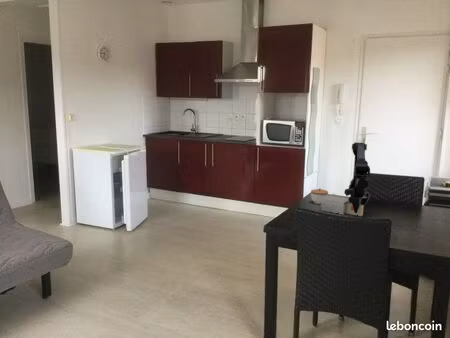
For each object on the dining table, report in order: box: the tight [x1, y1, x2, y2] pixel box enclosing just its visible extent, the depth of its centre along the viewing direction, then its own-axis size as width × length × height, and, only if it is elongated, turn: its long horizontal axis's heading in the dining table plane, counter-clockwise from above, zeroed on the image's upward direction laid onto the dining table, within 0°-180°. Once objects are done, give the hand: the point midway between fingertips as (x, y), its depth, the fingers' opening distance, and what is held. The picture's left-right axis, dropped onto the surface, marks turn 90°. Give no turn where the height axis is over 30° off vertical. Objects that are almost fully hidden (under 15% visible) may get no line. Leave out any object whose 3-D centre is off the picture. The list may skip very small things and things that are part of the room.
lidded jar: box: [310, 188, 329, 205], centre depth 263 cm, size 11×11×9 cm
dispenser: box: [320, 194, 350, 216], centre depth 245 cm, size 11×15×8 cm
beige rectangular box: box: [345, 203, 365, 217], centre depth 242 cm, size 3×19×6 cm, turn 51°
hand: (358, 211), depth 237 cm, fingers open, 9 cm apart
